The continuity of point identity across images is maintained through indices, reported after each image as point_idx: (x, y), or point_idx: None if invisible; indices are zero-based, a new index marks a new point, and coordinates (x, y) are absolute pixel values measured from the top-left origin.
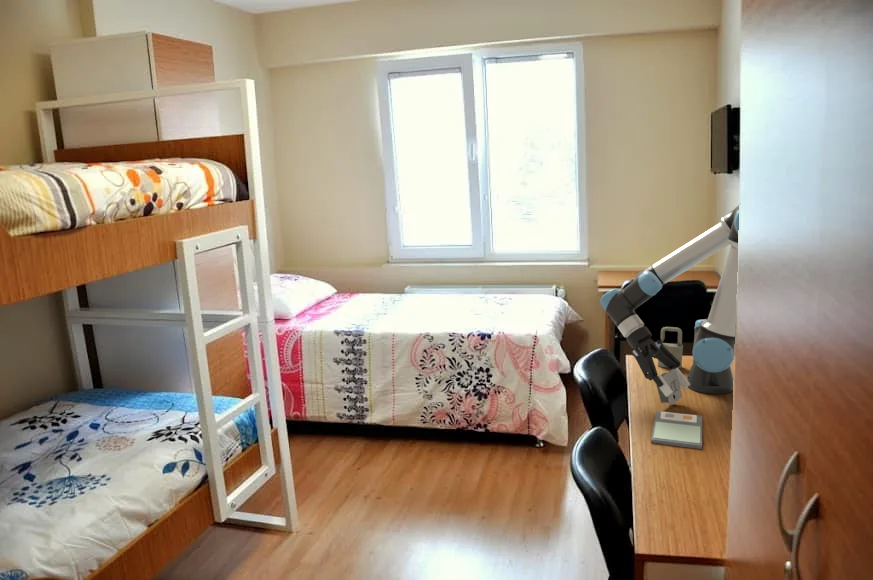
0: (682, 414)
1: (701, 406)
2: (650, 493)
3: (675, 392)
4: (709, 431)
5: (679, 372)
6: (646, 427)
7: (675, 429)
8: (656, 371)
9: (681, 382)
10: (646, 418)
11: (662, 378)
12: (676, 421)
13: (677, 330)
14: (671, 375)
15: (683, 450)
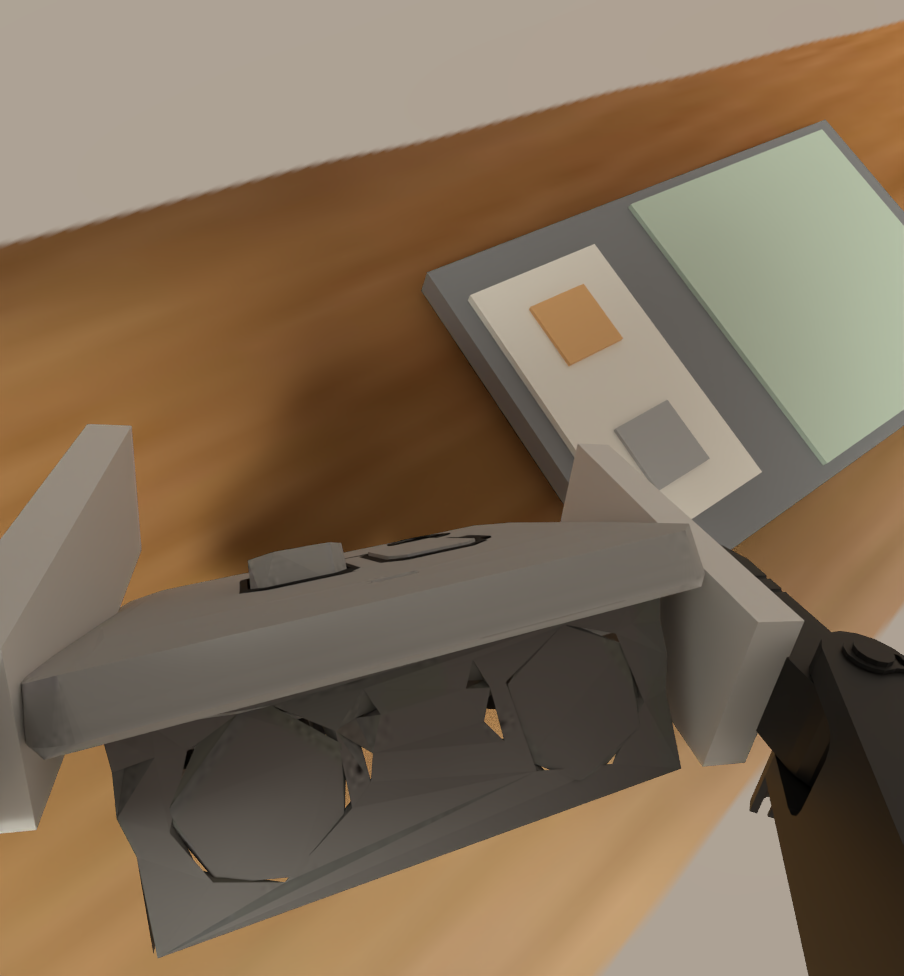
0: (550, 383)
1: (104, 421)
2: None
3: (350, 557)
4: (577, 180)
5: (53, 567)
6: (880, 503)
7: (806, 299)
8: (856, 691)
9: (113, 562)
10: None
11: (717, 566)
12: (685, 364)
13: None
14: (389, 578)
15: (898, 197)
